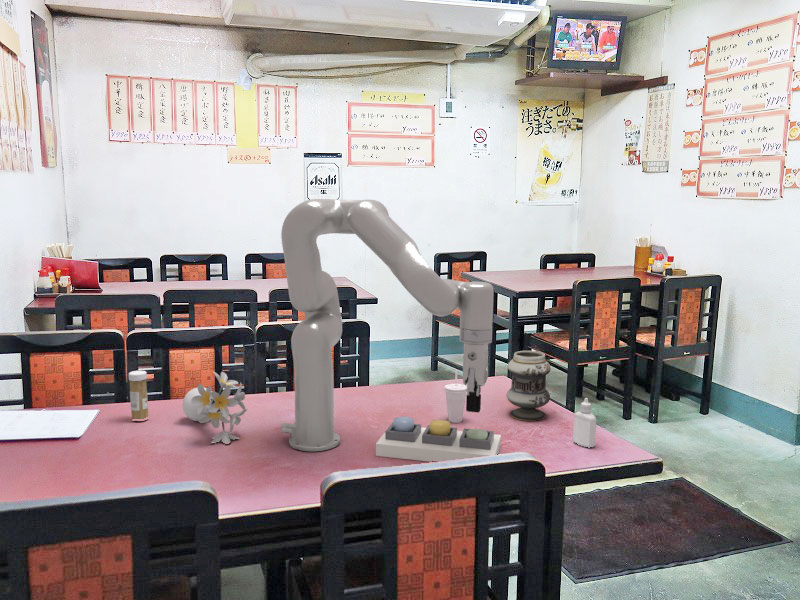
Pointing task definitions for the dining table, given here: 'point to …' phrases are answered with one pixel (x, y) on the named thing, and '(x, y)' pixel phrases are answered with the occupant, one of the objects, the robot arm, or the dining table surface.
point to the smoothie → (455, 400)
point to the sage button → (477, 434)
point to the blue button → (403, 424)
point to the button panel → (435, 445)
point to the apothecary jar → (528, 385)
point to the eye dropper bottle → (584, 426)
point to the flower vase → (215, 406)
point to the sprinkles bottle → (138, 394)
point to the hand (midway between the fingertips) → (473, 410)
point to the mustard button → (439, 428)
